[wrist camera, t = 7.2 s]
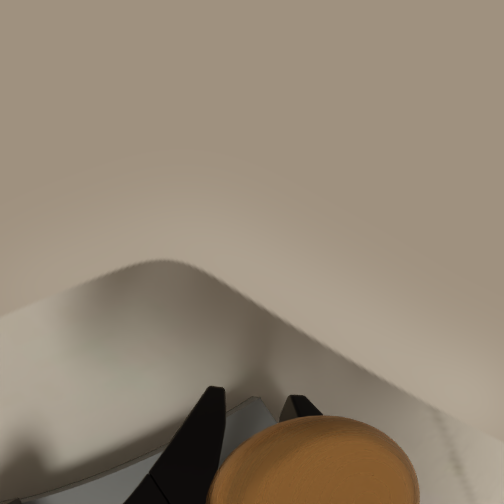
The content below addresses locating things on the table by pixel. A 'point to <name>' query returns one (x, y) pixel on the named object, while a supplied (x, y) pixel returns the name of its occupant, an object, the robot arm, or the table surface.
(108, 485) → the switch panel
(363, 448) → the toggle lever
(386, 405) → the table surface
